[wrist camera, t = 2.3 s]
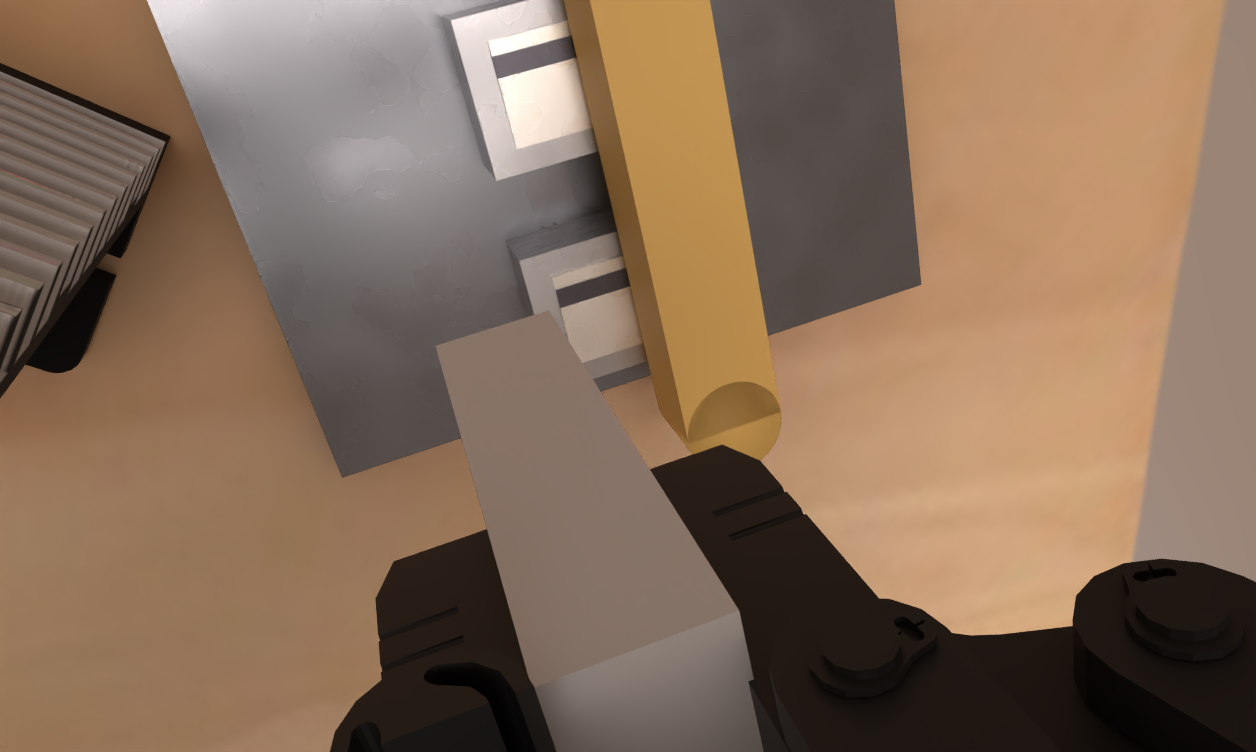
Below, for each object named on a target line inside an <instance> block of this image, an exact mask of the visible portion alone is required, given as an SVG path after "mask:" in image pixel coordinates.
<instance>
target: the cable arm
mask: <svg viewBox="0 0 1256 752" xmlns="http://www.w3.org/2000/svg"><path fill="white" fill-rule="evenodd" d="M564 4H565V8H566V13H567V17H568V21H569V26H570V30H571V34H572V38H573V43H574V47H575V51H576V55H577V60H578V64H579V68H580V73H581V77H582V81H583V85H584V90H585V94H586V98H587V102H588V107H589V111H590V115H591V120H592V124H593V128H594V132H595V137H596V141H597V145H598V149H599V154H600V158H601V162H602V167H603V171H604V175H605V179H606V184H607V188H608V192H609V196H610V201H611V205H612V209H613V214H614V218H615V222H616V226H617V231H618V235H619V239H620V244H621V248H622V252H623V256H624V261H625V265H626V269H627V273H628V278H629V282H630V286H631V291H632V295H633V299H634V303H635V308H636V312H637V316H638V320H639V325H640V329H641V333H642V338H643V342H644V346H645V350H646V355H647V359H648V363H649V367H650V372H651V376H652V380H653V385H654V389H655V393H656V397H657V402H658V405H659V409H660V411H661V413H662V415H663V416H664V418H665V419H666V420H667V422H668V423H669V424H670V426H671V427H672V428H673V429H674V431H675V432H676V433H677V435H678V436H679V437H680V439H681V440H682V441H683V443H684V444H685V445H686V447H687V448H688V449H689V450H690V452H691V453H692V454H696V453H699V452H702V451H705V450H707V449H710V448H713V447H716V446H719V445H725V446H727V447H729V448H732V449H734V450H736V451H739V452H741V453H744V454H746V455H748V456H751V457H753V458H755V459H758V460H761V459H762V458H763V457H764V456H765V455H766V454H767V453H768V452H769V451H770V450H771V448H772V447H773V445H774V444H775V442H776V440H777V438H778V435H779V432H780V428H781V410H780V404H779V398H778V392H777V387H776V381H775V375H774V369H773V363H772V358H771V352H770V346H769V340H768V334H767V329H766V323H765V317H764V311H763V305H762V300H761V294H760V288H759V282H758V276H757V271H756V265H755V259H754V253H753V247H752V242H751V236H750V230H749V224H748V218H747V213H746V207H745V201H744V195H743V189H742V184H741V178H740V172H739V166H738V160H737V155H736V149H735V143H734V137H733V131H732V126H731V120H730V114H729V108H728V102H727V97H726V91H725V85H724V79H723V73H722V68H721V62H720V56H719V50H718V44H717V39H716V33H715V27H714V21H713V15H712V10H711V4H710V0H564Z"/></svg>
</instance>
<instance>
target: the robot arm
mask: <svg viewBox="0 0 1256 752" xmlns="http://www.w3.org/2000/svg"><path fill="white" fill-rule="evenodd" d="M436 349H437V353H438V357H439V360H440V364H441V367H442V371H443V374H444V378H445V381H446V385H447V389H448V392H449V396H450V399H451V403H452V406H453V410H454V413H455V417H456V421H457V424H458V428H459V431H460V435H461V438H462V442H463V445H464V449H465V453H466V456H467V460H468V463H469V467H470V470H471V474H472V477H473V481H474V485H475V488H476V492H477V495H478V499H479V502H480V506H481V510H482V513H483V517H484V520H485V524H486V527H487V529H486V530H484V531H481V532H478V533H475V534H472V535H469V536H466V537H463V538H460V539H457V540H455V541H452V542H449V543H446V544H443V545H440V546H437V547H434V548H431V549H429V550H426V551H423V552H420V553H417V554H414V555H411V556H408V557H405V558H403V559H400V560H397V561H394V562H393V564H392V566H391V568H390V570H389V572H388V574H387V576H386V578H385V581H384V583H383V585H382V587H381V589H380V591H379V593H378V595H377V597H376V611H377V624H378V635H379V638H380V641H379V651H380V664H381V667H382V671H383V672H381V677H382V680H381V681H380V682H379V683H377V684H376V685H375V686H374V687H373V688H371V689H370V690H369V691H368V692H367V693H365V694H364V695H363V696H362V697H361V698H359V699H358V700H357V701H356V702H355V704H354V705H353V707H352V708H351V709H350V711H349V712H348V714H347V715H346V717H345V718H344V720H343V721H342V722H341V724H340V725H339V727H338V728H337V730H336V731H335V734H334V738H333V742H332V746H331V750H330V752H1256V582H1254V581H1252V580H1250V579H1248V578H1246V577H1244V576H1241V575H1238V574H1235V573H1232V572H1229V571H1225V570H1222V569H1219V568H1216V567H1213V566H1210V565H1207V564H1204V563H1198V562H1188V561H1178V560H1169V559H1155V560H1148V561H1139V562H1131V563H1124V564H1121V565H1119V566H1117V567H1114V568H1112V569H1110V570H1107V571H1105V572H1103V573H1100V574H1098V575H1096V576H1094V577H1093V578H1092V579H1091V580H1090V581H1089V582H1088V584H1087V585H1086V586H1085V587H1084V588H1083V589H1082V590H1081V591H1080V592H1079V593H1078V594H1077V596H1076V601H1075V608H1074V615H1073V626H1070V627H1061V628H1053V629H1044V630H1036V631H1027V632H1019V633H1010V634H1001V635H973V636H971V635H963V634H955V633H951V632H950V631H949V630H948V628H947V627H945V626H944V625H943V624H941V623H940V622H938V621H937V620H936V619H934V618H933V617H932V616H930V615H929V614H927V613H926V612H925V611H923V610H922V609H919V608H916V607H913V606H910V605H907V604H904V603H900V602H897V601H894V600H891V599H879V598H878V597H877V596H876V594H875V593H874V592H873V591H872V590H871V589H870V587H869V586H868V585H867V584H866V583H865V582H864V581H863V579H862V578H861V577H860V576H859V575H858V574H857V572H856V571H855V570H854V569H853V568H852V567H851V565H850V564H849V563H848V562H847V561H846V560H845V559H844V557H843V556H842V555H841V554H840V553H839V552H838V550H837V549H836V548H835V547H834V546H833V545H832V543H831V542H830V541H829V540H828V539H827V538H826V537H825V535H824V534H823V533H822V532H821V531H820V530H819V528H818V527H817V526H816V525H815V524H814V523H813V521H812V520H811V519H810V518H809V517H808V516H807V515H806V514H805V515H804V514H803V512H802V509H801V508H800V506H799V505H798V504H797V503H796V502H795V501H794V499H793V498H792V497H791V496H790V495H789V494H788V493H787V492H784V490H783V487H782V486H781V484H780V483H779V482H778V481H777V480H776V479H775V477H774V476H773V475H772V474H771V473H770V472H769V471H768V469H767V468H766V467H765V466H764V465H763V464H762V462H761V461H760V460H758V459H755V458H753V457H751V456H748V455H746V454H744V453H741V452H739V451H736V450H734V449H732V448H729V447H727V446H725V445H719V446H716V447H713V448H710V449H707V450H705V451H702V452H699V453H696V454H693V455H690V456H687V457H684V458H681V459H678V460H676V461H673V462H670V463H667V464H664V465H661V466H658V467H655V468H652V469H649V467H648V466H647V464H646V463H645V461H644V460H643V458H642V456H641V455H640V453H639V452H638V450H637V449H636V447H635V445H634V444H633V442H632V441H631V439H630V437H629V436H628V434H627V433H626V431H625V430H624V428H623V426H622V425H621V423H620V422H619V420H618V419H617V417H616V415H615V414H614V412H613V411H612V409H611V407H610V406H609V404H608V403H607V401H606V400H605V398H604V396H603V395H602V393H601V392H600V390H599V388H598V387H597V385H596V384H595V382H594V381H593V379H592V377H591V376H590V374H589V373H588V371H587V370H586V368H585V366H584V365H583V363H582V362H581V360H580V358H579V357H578V355H577V354H576V352H575V351H574V349H573V347H572V346H571V344H570V343H569V341H568V340H567V338H566V336H565V335H564V333H563V332H562V330H561V328H560V327H559V325H558V324H557V322H556V321H555V319H554V317H553V316H552V314H551V313H550V311H549V310H548V311H545V312H542V313H539V314H536V315H532V316H529V317H526V318H523V319H520V320H517V321H513V322H510V323H507V324H504V325H501V326H497V327H494V328H491V329H488V330H485V331H481V332H478V333H475V334H472V335H469V336H465V337H462V338H459V339H456V340H453V341H449V342H446V343H443V344H440V345H437V346H436Z"/></svg>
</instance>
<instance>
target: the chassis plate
mask: <svg viewBox="0 0 1256 752" xmlns="http://www.w3.org/2000/svg"><path fill="white" fill-rule="evenodd" d="M147 2H148V4H149V7H150V9H151V11H152V14H153V16H154V19H155V21H156V24H157V26H158V29H159V31H160V33H161V36H162V38H163V41H164V43H165V46H166V48H167V50H168V53H169V55H170V58H171V60H172V63H173V65H174V68H175V70H176V72H177V75H178V77H179V80H180V82H181V85H182V87H183V90H184V92H185V94H186V97H187V99H188V102H189V104H190V107H191V109H192V112H193V114H194V116H195V119H196V121H197V124H198V126H199V129H200V131H201V134H202V136H203V138H204V141H205V143H206V146H207V148H208V151H209V153H210V156H211V158H212V160H213V163H214V165H215V168H216V170H217V173H218V175H219V177H220V180H221V182H222V185H223V187H224V190H225V192H226V195H227V197H228V199H229V202H230V204H231V207H232V209H233V212H234V214H235V217H236V219H237V221H238V224H239V226H240V229H241V231H242V234H243V236H244V239H245V241H246V243H247V246H248V248H249V251H250V253H251V256H252V258H253V261H254V263H255V265H256V268H257V270H258V273H259V275H260V278H261V280H262V283H263V285H264V287H265V290H266V292H267V295H268V297H269V300H270V302H271V304H272V307H273V309H274V312H275V314H276V317H277V319H278V322H279V324H280V326H281V329H282V331H283V334H284V336H285V339H286V341H287V344H288V346H289V348H290V351H291V353H292V356H293V358H294V361H295V363H296V366H297V368H298V370H299V373H300V375H301V378H302V380H303V383H304V385H305V388H306V390H307V392H308V395H309V397H310V400H311V402H312V405H313V407H314V410H315V412H316V414H317V417H318V419H319V422H320V424H321V427H322V429H323V431H324V434H325V436H326V439H327V441H328V444H329V446H330V449H331V451H332V453H333V456H334V458H335V461H336V463H337V466H338V468H339V471H340V473H341V475H342V478H343V477H346V476H349V475H352V474H355V473H358V472H361V471H364V470H367V469H370V468H373V467H376V466H379V465H382V464H385V463H388V462H391V461H394V460H397V459H400V458H403V457H406V456H409V455H412V454H415V453H418V452H421V451H424V450H427V449H430V448H433V447H436V446H439V445H442V444H445V443H448V442H451V441H454V440H457V439H460V438H461V435H460V431H459V428H458V424H457V421H456V417H455V413H454V410H453V406H452V403H451V399H450V396H449V392H448V389H447V385H446V381H445V378H444V374H443V371H442V367H441V364H440V360H439V357H438V353H437V349H436V346H437V345H440V344H443V343H446V342H449V341H453V340H456V339H459V338H462V337H465V336H469V335H472V334H475V333H478V332H481V331H485V330H488V329H491V328H494V327H497V326H501V325H504V324H507V323H510V322H513V321H517V320H520V319H523V318H526V317H529V316H532V315H536V314H539V313H542V312H545V311H548V310H549V311H550V313H551V314H552V316H553V317H554V319H555V321H556V322H557V324H558V325H559V327H560V328H561V330H562V332H563V333H564V335H565V336H566V338H567V340H568V341H569V343H570V344H571V346H572V347H573V349H574V351H575V352H576V354H577V355H578V357H579V358H580V360H581V362H582V363H583V365H584V366H585V368H586V370H587V371H588V373H589V374H590V376H591V377H592V379H593V381H594V382H595V384H596V385H597V387H598V388H599V390H600V392H601V391H604V390H607V389H610V388H613V387H616V386H619V385H622V384H625V383H628V382H631V381H634V380H637V379H640V378H643V377H646V376H649V375H651V372H650V367H649V363H648V359H647V355H646V350H645V346H644V342H643V338H642V333H641V329H640V325H639V320H638V316H637V312H636V308H635V303H634V299H633V295H632V291H631V286H630V282H629V278H628V273H627V269H626V265H625V261H624V256H623V252H622V248H621V244H620V239H619V235H618V231H617V226H616V222H615V218H614V214H613V209H612V205H611V201H610V196H609V192H608V188H607V184H606V179H605V175H604V171H603V167H602V162H601V158H600V154H599V149H598V145H597V141H596V137H595V132H594V128H593V124H592V120H591V115H590V111H589V107H588V102H587V98H586V94H585V90H584V85H583V81H582V77H581V73H580V68H579V64H578V60H577V55H576V51H575V47H574V43H573V38H572V34H571V30H570V26H569V21H568V17H567V13H566V8H565V4H564V0H147ZM710 4H711V10H712V15H713V21H714V27H715V33H716V39H717V44H718V50H719V56H720V62H721V68H722V73H723V79H724V85H725V91H726V97H727V102H728V108H729V114H730V120H731V126H732V131H733V137H734V143H735V149H736V155H737V160H738V166H739V172H740V178H741V184H742V189H743V195H744V201H745V207H746V213H747V218H748V224H749V230H750V236H751V242H752V247H753V253H754V259H755V265H756V271H757V276H758V282H759V288H760V294H761V300H762V305H763V311H764V317H765V323H766V329H767V334H768V336H769V335H772V334H775V333H778V332H781V331H784V330H787V329H790V328H793V327H796V326H799V325H802V324H805V323H808V322H811V321H814V320H817V319H820V318H823V317H826V316H829V315H832V314H835V313H838V312H841V311H844V310H847V309H850V308H853V307H856V306H859V305H862V304H865V303H868V302H871V301H874V300H877V299H880V298H883V297H886V296H889V295H892V294H895V293H898V292H901V291H904V290H907V289H910V288H913V287H916V286H919V285H921V277H920V267H919V256H918V246H917V235H916V224H915V214H914V203H913V193H912V182H911V172H910V161H909V151H908V140H907V129H906V119H905V108H904V98H903V87H902V77H901V66H900V56H899V45H898V34H897V24H896V13H895V3H894V0H710Z"/></svg>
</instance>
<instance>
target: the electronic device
mask: <svg viewBox="0 0 1256 752" xmlns="http://www.w3.org/2000/svg"><path fill="white" fill-rule="evenodd" d="M169 139H170V136H169V135H166V134H164V133H162V132H159V131H157V130H155V129H152V128H150V127H148V126H146V125H143V124H141V123H139V122H136V121H134V120H132V119H129V118H127V117H125V116H122V115H120V114H118V113H115V112H113V111H111V110H108V109H106V108H104V107H101V106H99V105H97V104H94V103H92V102H90V101H87V100H85V99H83V98H80V97H78V96H76V95H73V94H71V93H69V92H66V91H64V90H62V89H59V88H57V87H55V86H52V85H50V84H48V83H46V82H43V81H41V80H39V79H36V78H34V77H32V76H29V75H27V74H25V73H22V72H20V71H18V70H15V69H13V68H11V67H8V66H6V65H4V64H1V63H0V398H1V397H2V395H3V394H4V393H5V391H6V390H7V388H8V387H9V386H10V384H11V383H12V382H13V380H14V379H15V378H16V376H17V375H18V373H19V372H20V371H21V369H22V368H23V367H24V365H29V366H32V367H35V368H38V369H41V370H44V371H47V372H52V373H63V372H66V371H69V370H72V369H73V368H74V367H76V366H77V365H78V364H79V362H80V361H81V359H82V358H83V356H84V354H85V353H86V351H87V349H88V346H89V344H90V341H91V338H92V336H93V333H94V331H95V328H96V326H97V323H98V321H99V318H100V315H101V313H102V310H103V308H104V305H105V303H106V300H107V298H108V295H109V292H110V290H111V287H112V285H113V282H114V280H115V277H116V275H114V274H111V273H109V272H106V271H103V270H101V269H98V268H96V267H97V265H98V264H99V263H100V261H101V260H102V259H103V257H104V256H105V254H106V253H107V254H110V255H113V256H116V257H118V258H121V257H122V256H123V254H124V253H125V251H126V249H127V246H128V244H129V241H130V239H131V236H132V234H133V231H134V228H135V226H136V223H137V221H138V218H139V216H140V213H141V211H142V208H143V205H144V203H145V200H146V198H147V195H148V193H149V190H150V187H151V185H152V182H153V180H154V177H155V175H156V172H157V170H158V167H159V164H160V162H161V159H162V157H163V154H164V152H165V149H166V147H167V144H168V141H169Z"/></svg>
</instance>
